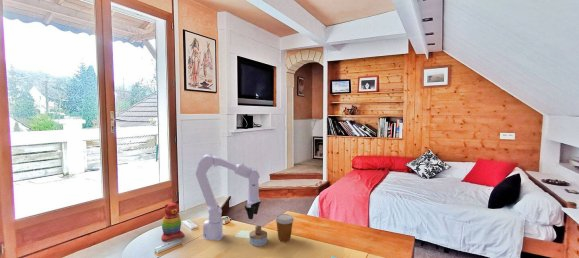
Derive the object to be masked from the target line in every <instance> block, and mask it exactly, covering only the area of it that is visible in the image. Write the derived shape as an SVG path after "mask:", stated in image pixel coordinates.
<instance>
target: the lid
mask: <svg viewBox="0 0 579 258" xmlns="http://www.w3.org/2000/svg"><path fill="white" fill-rule="evenodd" d="M254 228H255V230H251V231H252V232H250V233H249V236H250V238H253V239H263V238H265V237H267V238H268V232H267V231H266V230H263V229H262V226H261V225H256V226H255V227H254Z"/></svg>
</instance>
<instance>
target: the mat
mask: <svg viewBox="0 0 579 258" xmlns="http://www.w3.org/2000/svg"><path fill="white" fill-rule="evenodd" d="M252 231H253V230H244V229H243V230H242V229H240V230H239V231H238V232H237V234H235V236H234V238H240V239H249V237H250V236H249V233H250V232H252Z"/></svg>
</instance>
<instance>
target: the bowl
mask: <svg viewBox="0 0 579 258" xmlns="http://www.w3.org/2000/svg"><path fill="white" fill-rule="evenodd" d="M267 243H268V236H267V237H265V238H263V239H253V238H250V237H249V244H250V245H251V246H254V247H262V246H265V245H266V244H267Z"/></svg>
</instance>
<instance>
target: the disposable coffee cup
mask: <svg viewBox="0 0 579 258" xmlns="http://www.w3.org/2000/svg"><path fill="white" fill-rule="evenodd" d="M275 217H276V218H275V222H276V229H277V238H278V240H279V241H280V242H281V243H287V242H290V241H291V236H292V229H293V223H294V220H295V219H294V216H293V215H292V214H288V213H280V214H277V215H276V216H275Z"/></svg>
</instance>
